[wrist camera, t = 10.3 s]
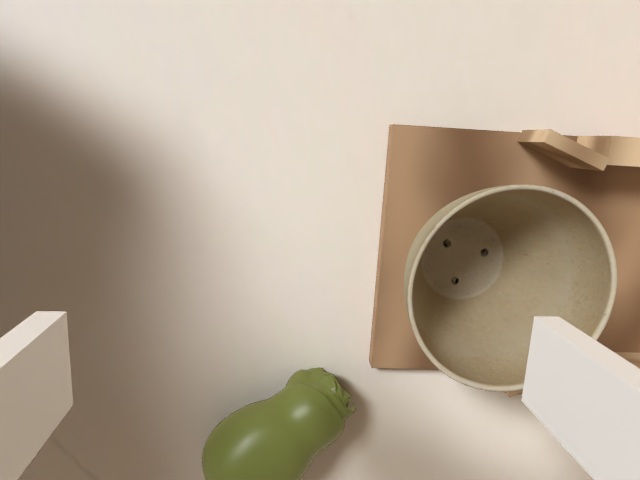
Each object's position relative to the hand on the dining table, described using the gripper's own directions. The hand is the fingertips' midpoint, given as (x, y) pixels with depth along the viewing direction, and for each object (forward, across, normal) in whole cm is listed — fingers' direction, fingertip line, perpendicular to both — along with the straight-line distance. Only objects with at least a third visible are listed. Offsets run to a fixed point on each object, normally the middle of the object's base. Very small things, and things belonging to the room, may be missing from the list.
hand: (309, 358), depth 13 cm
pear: (+16, 0, -12) cm, 20 cm away
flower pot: (+15, +10, -1) cm, 18 cm away
